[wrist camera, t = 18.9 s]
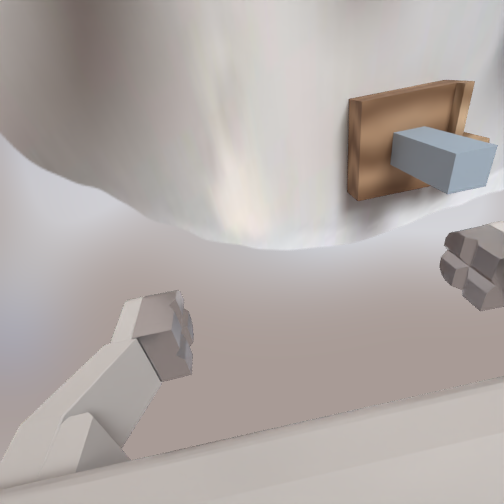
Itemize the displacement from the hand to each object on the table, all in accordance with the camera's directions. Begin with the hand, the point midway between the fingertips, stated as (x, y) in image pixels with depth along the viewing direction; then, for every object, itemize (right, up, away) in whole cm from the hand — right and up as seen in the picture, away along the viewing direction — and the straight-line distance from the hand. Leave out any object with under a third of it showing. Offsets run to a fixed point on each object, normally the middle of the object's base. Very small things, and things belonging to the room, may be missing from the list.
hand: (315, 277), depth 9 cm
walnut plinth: (+20, +18, +36) cm, 45 cm away
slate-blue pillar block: (+20, +16, +33) cm, 42 cm away
